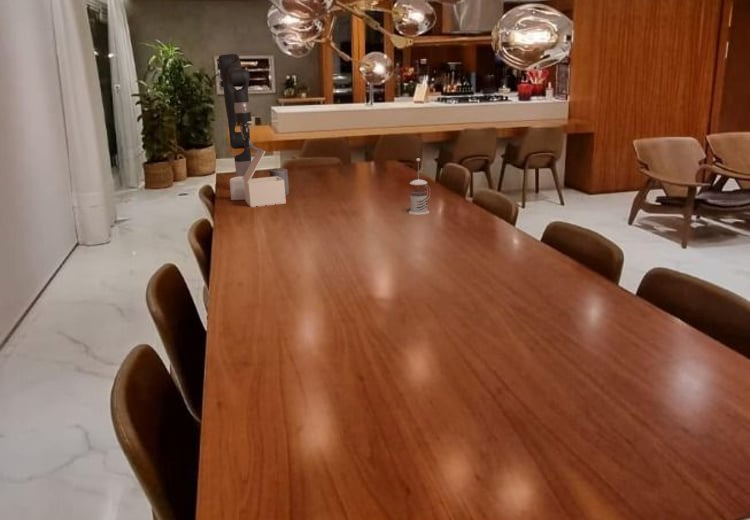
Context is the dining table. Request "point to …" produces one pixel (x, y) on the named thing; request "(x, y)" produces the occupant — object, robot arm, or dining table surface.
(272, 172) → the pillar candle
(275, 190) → the carton
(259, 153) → the carton lid
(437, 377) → the dining table surface
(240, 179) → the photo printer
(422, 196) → the french press
